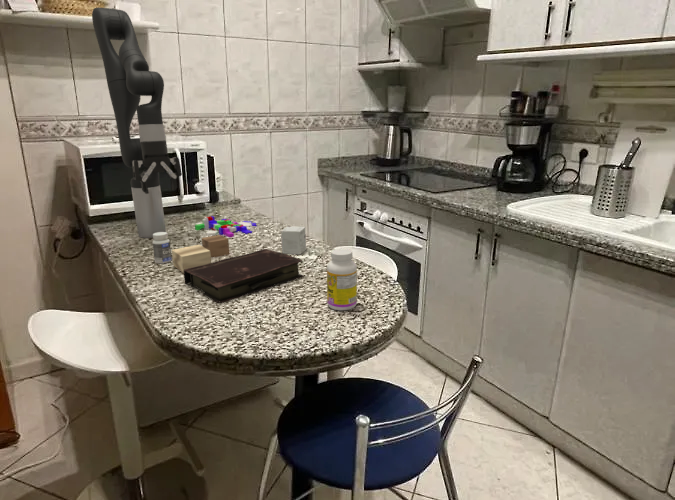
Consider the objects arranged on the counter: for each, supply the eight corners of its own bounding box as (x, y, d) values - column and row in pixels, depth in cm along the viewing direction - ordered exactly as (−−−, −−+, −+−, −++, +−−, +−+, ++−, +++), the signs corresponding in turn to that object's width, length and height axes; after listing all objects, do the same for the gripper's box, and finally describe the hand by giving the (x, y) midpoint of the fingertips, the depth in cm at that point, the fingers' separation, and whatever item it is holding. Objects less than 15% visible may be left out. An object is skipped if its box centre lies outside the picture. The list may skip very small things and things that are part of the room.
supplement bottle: (326, 300, 106) (325, 247, 102) (354, 298, 106) (354, 246, 102) (328, 312, 99) (327, 256, 96) (358, 311, 100) (358, 255, 96)
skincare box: (300, 255, 138) (299, 231, 136) (281, 253, 139) (280, 230, 137) (306, 249, 144) (305, 226, 141) (288, 247, 145) (287, 225, 143)
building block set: (269, 231, 167) (268, 219, 166) (217, 241, 154) (216, 228, 153) (236, 218, 185) (236, 208, 184) (187, 227, 173) (186, 215, 171)
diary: (184, 286, 117) (182, 267, 116) (265, 263, 133) (264, 246, 132) (220, 306, 104) (218, 286, 102) (305, 278, 120) (305, 260, 119)
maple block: (173, 266, 130) (171, 249, 128) (201, 260, 134) (199, 244, 133) (183, 274, 124) (181, 256, 122) (211, 267, 128) (210, 250, 127)
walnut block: (203, 253, 140) (201, 238, 139) (221, 250, 144) (220, 234, 142) (210, 258, 136) (209, 242, 134) (229, 254, 139) (228, 238, 138)
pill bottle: (166, 264, 131) (162, 236, 128) (151, 263, 132) (147, 235, 129) (175, 259, 135) (171, 231, 133) (160, 258, 136) (157, 230, 134)
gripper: (172, 138, 148) (178, 188, 153) (125, 140, 140) (133, 193, 144) (180, 138, 142) (186, 190, 147) (131, 141, 134) (140, 195, 138)
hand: (160, 191), depth 145 cm, fingers open, 8 cm apart
